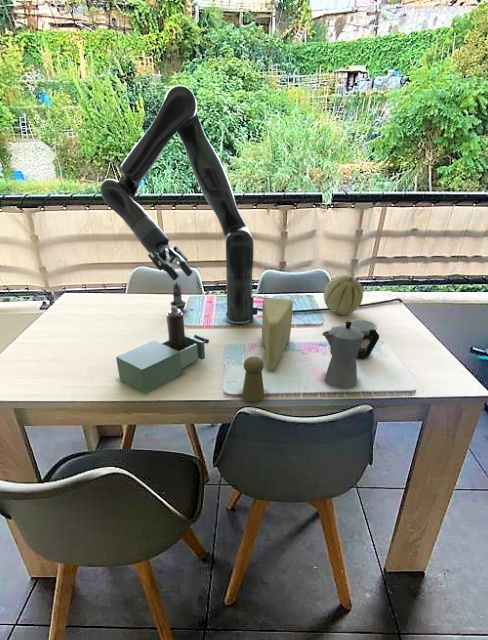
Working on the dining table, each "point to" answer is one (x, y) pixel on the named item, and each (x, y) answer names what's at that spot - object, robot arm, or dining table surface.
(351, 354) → the coffeepot
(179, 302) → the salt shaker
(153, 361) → the cabinet
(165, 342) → the drawer
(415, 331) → the dining table surface
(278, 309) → the cheese
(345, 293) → the cantaloupe
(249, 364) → the olive rounded tall piece
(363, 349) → the coffee mug
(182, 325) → the pepper mill
